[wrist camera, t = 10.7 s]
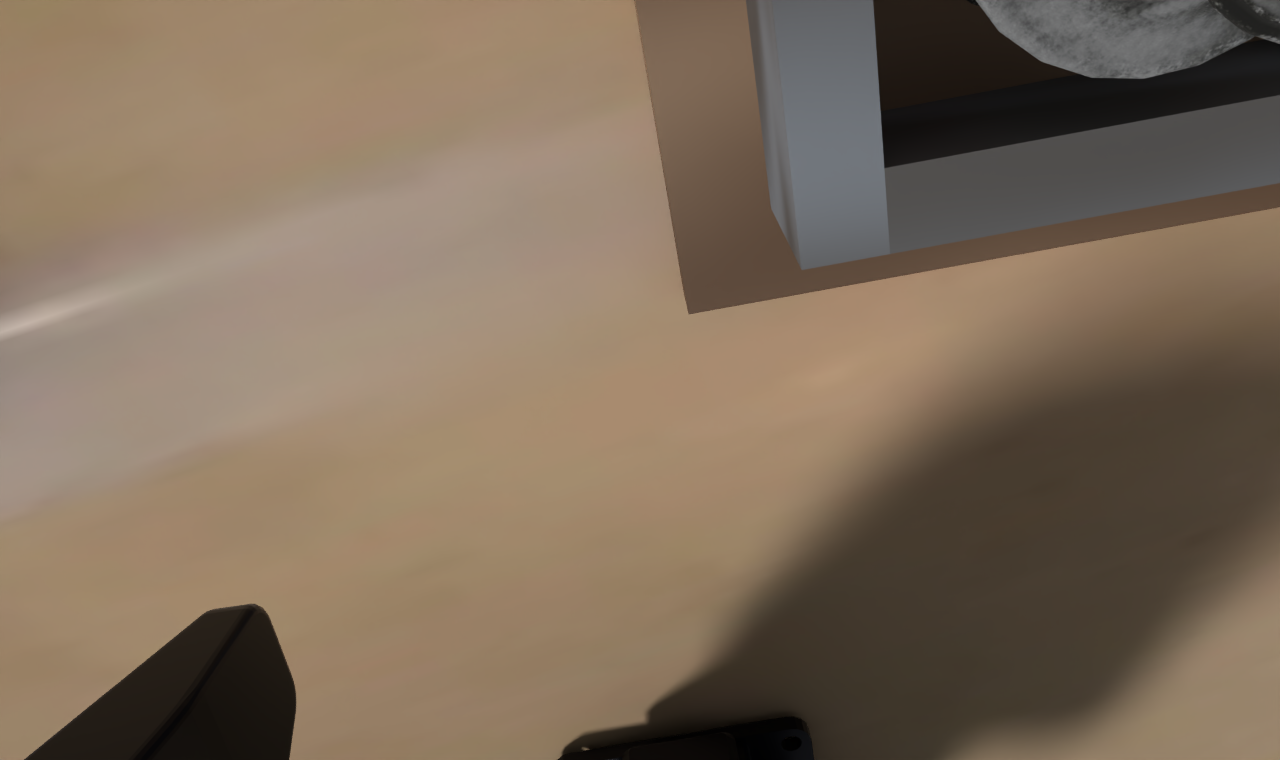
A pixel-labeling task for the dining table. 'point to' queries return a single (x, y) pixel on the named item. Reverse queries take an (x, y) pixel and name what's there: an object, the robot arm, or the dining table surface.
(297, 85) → the dining table surface
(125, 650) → the dining table surface
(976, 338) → the dining table surface
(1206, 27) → the salt shaker
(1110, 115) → the socket board
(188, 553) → the dining table surface
